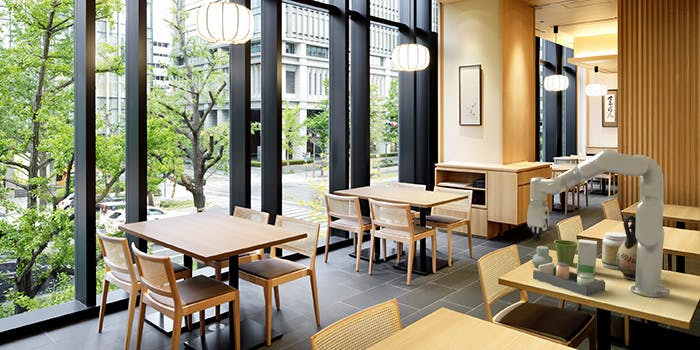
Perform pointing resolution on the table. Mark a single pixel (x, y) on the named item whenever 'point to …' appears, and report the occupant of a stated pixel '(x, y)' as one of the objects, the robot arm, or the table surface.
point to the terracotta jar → (562, 270)
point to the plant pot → (565, 250)
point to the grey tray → (570, 283)
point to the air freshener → (542, 256)
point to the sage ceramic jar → (585, 278)
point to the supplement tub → (611, 248)
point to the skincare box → (586, 256)
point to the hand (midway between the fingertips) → (536, 240)
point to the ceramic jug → (628, 250)
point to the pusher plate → (546, 268)
